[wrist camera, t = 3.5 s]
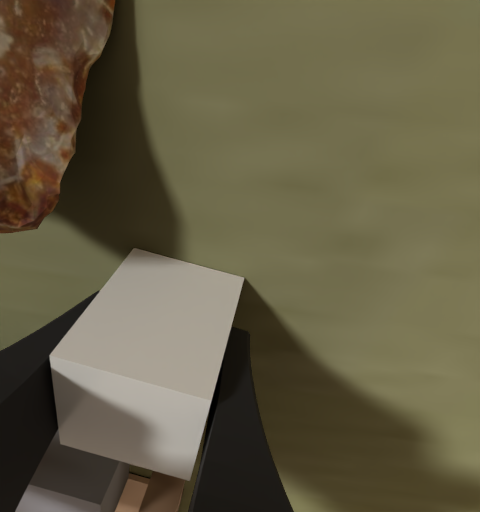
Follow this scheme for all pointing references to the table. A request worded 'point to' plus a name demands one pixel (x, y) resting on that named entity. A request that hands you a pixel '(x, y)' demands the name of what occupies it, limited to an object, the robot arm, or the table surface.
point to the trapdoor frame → (151, 494)
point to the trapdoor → (74, 482)
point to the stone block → (145, 363)
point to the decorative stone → (43, 98)
